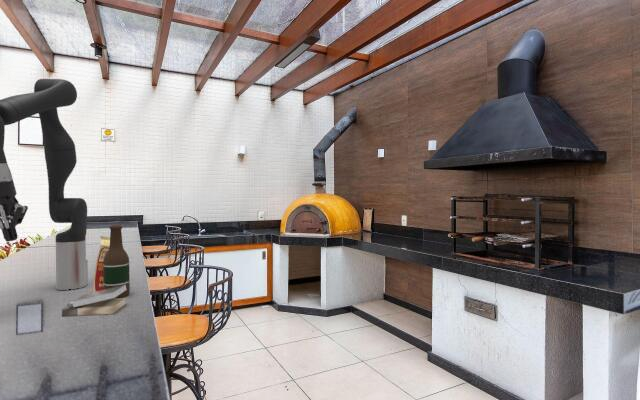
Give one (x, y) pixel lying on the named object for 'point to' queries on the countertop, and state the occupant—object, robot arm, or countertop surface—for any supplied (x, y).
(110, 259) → the beer bottle
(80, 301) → the slab
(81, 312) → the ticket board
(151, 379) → the countertop surface
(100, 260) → the milk carton
